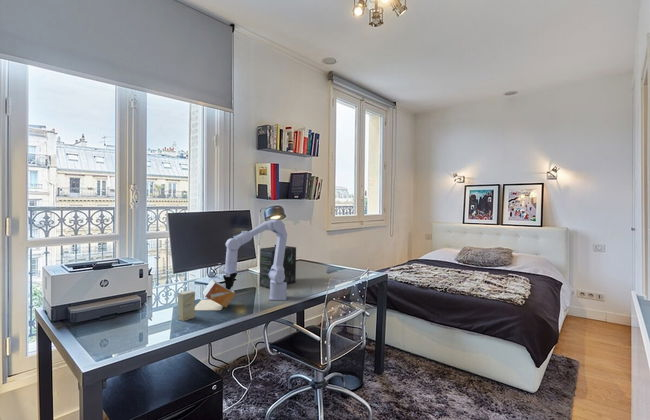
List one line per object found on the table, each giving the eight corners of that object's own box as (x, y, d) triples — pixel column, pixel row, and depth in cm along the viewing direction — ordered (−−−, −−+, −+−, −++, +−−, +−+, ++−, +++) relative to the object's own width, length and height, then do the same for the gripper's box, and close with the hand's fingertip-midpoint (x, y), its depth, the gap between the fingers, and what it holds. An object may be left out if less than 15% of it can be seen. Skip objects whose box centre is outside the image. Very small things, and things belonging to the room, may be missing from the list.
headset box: (283, 279, 226) (283, 242, 226) (296, 282, 219) (296, 243, 219) (258, 286, 208) (259, 245, 207) (272, 289, 201) (272, 247, 200)
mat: (228, 299, 179) (228, 299, 179) (220, 310, 163) (220, 309, 163) (201, 300, 178) (201, 299, 178) (191, 310, 161) (191, 310, 161)
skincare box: (183, 321, 147) (183, 294, 147) (177, 319, 150) (177, 292, 149) (195, 317, 153) (195, 291, 152) (189, 315, 155) (189, 289, 155)
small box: (226, 308, 166) (204, 296, 160) (222, 303, 172) (201, 292, 165) (235, 294, 168) (214, 282, 162) (232, 290, 174) (211, 278, 167)
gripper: (226, 259, 177) (224, 284, 177) (220, 263, 163) (218, 291, 163) (239, 260, 178) (237, 285, 178) (234, 264, 163) (232, 291, 163)
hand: (229, 288), depth 170 cm, fingers open, 4 cm apart
